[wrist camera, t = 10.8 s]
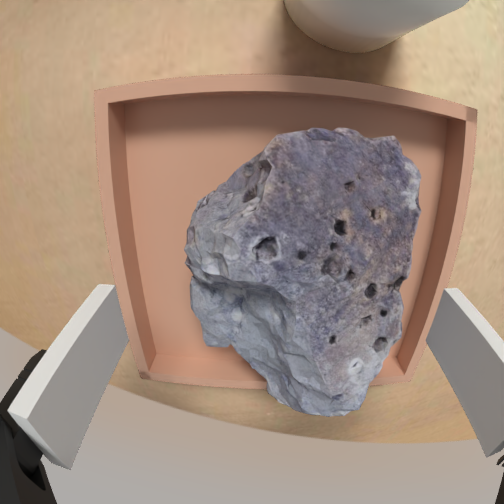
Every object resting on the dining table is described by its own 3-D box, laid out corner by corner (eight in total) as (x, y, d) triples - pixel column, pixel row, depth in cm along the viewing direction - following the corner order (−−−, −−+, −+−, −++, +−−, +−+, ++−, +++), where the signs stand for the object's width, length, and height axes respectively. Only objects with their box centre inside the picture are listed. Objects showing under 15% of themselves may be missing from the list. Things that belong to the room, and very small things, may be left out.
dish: (152, 351, 22) (140, 378, 20) (119, 93, 15) (94, 90, 12) (398, 355, 22) (410, 381, 19) (449, 108, 14) (477, 109, 11)
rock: (351, 388, 19) (425, 458, 9) (204, 394, 19) (178, 485, 9) (353, 181, 20) (431, 117, 10) (203, 177, 20) (174, 96, 10)
